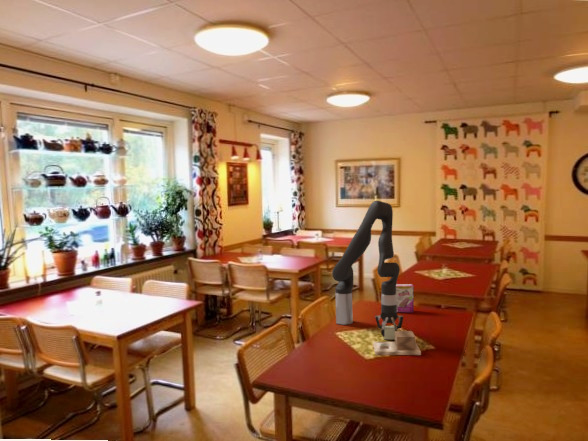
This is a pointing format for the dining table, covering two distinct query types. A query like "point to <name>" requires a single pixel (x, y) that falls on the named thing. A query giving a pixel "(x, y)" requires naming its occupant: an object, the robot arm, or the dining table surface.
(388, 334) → the sage cube
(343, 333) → the dining table surface
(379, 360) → the dining table surface
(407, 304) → the candy bar box
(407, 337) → the walnut base block
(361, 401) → the dining table surface
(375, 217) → the robot arm
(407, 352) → the birch board
